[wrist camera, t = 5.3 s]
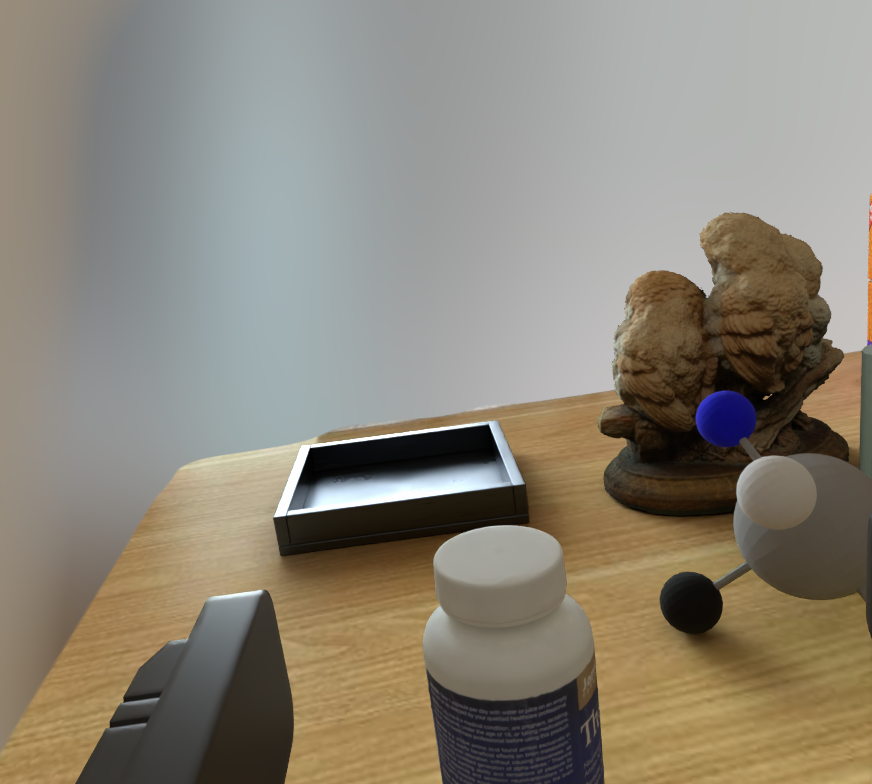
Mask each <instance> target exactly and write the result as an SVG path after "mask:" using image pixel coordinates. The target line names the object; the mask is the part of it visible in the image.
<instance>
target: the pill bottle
mask: <svg viewBox="0 0 872 784" xmlns="http://www.w3.org/2000/svg"><path fill="white" fill-rule="evenodd" d="M433 564H434V576H435V593H436V597H437V599H438V601H439V604H440V606H438V608H437V609H436V610H435V611H434V612H433V614H432V615H431V617H430V618H429V620H428V622H427V625H426V627H425V631H424V637H423V651H424V660H425V666H426V673H427V679H428V687H429V693H430V699H431V708H432V713H433V720H434V727H435V734H436V741H437V749H438V756H439V763H440V769H441V776H442V782H443V784H605V783H604V767H603V757H602V739H601V727H600V710H599V700H598V688H597V677H596V659H595V652H594V641H593V634H592V628H591V625H590V622H589V619H588V617H587V615H586V613H585V612H584V610H583V609H582V608H581V606H580V605H579V604H578V603H577V602H576V601H575V600H574V599H573V598H571V597H570V596H569V595H567V594H566V585H567V581H566V573H565V565H564V558H563V552H562V548H561V545H560V544H559V542H558V541H557V540H556V539H555V538H554V537H552V536H551V535H549V534H547V533H545V532H543V531H540V530H537V529H533V528H529V527H523V526H509V525H503V526H489V527H483V528H479V529H474V530H471V531H468V532H465V533H462V534H459V535H457V536H454V537H453V538H451V539H449V540H448V541H446V542H445V543H444V544H443V545H442V546H441V547H440V548H439V549H438V550H437V552H436V554H435V556H434V561H433Z"/></svg>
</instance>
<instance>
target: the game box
mask: <svg viewBox="0 0 872 784" xmlns="http://www.w3.org/2000/svg"><path fill="white" fill-rule="evenodd" d="M869 215H870V216H869V220H870V221H869V259H868V260H869V261H868V278H869V279H871V281H869V282H868V343H867V346H868V345H870V344H872V194H871V196H870V214H869Z"/></svg>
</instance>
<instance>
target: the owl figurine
mask: <svg viewBox="0 0 872 784" xmlns="http://www.w3.org/2000/svg"><path fill="white" fill-rule="evenodd" d="M700 241H701V243H700V246H701V247H702V248H703V249H704V252H705V255H706V257H707V258H708V262H709V263H710V264H711V267H712V274H713V278H712V279H713V280H712V281H713V283H714V285H715V286H714V287H713V289H712V290H713V291H711V294H710V296H709V297H708V298H706V295H705V293H704V292H703V290H701V289H699V287H697V286H696V285H695V284H694V283H693V282H691V281H690V280H688V279H687V278H686V277H684V276H682V275H680V274H676V273H674V272H669V271H651V272H647V273H646V274H644V275H642V276H641V277H639V278H637V279H636V280H635V282H634V283H633V284H632V285H631V286H630V287H629V292H628V294H627V296H626V301H625V303H626V304H625V308H624V309H625V319H626V320H624V321H623V323H622V324H621V325H620V326H619V325H618V328H617V330H616V331H615V334H614V355H615V359H614V361H612V371H613V379H614V381H615V384H614V387H615V391H616V393H617V395H618V396H619V397H620V399H621V400H622V401H623V402H624V404H621V405H619V406H611V407H606V408H605V407H604V409H603V411H602V415H600V416H599V417H598V427H599V429H600V432H601V433H603V434H604V435H607V436H609V437H612V438H621V437H623V438H625V439H626V441H627V443H626V444H627V446H626V447H625V448H624V449H622V450H621V452H620V453H619V454H618V456H617V457H616V458H615V459H613V460H612V461H611V463H610V464H609V465H608V466H607V468H606V470H605V472H604V484H605V485H604V486H605V490H606V491H607V492H608V493H609V494H610V495H611V496H613V498H614V499H616V500H617V501H619V502H621V503H622V504H624V505H626V506H629V507H631V508H635V509H640V510H645V511H647V512H650V513H654V514H663V515H677V516H681V515H682V516H684V515H698V514H717V513H723V512H731V511H735V506H736V502H737V495H736V491H737V483H738V480H739V477H740V475H741V473H742V472H743V470H744V469H745V468H746V467H747V466H748V465H749V464H751V463H752V462H753V459H752V458H751V457H750V456H749V454H748V453H747V452H746V451H745V449H744V448H743V447H742V445H741V444H739V445H737V446H733V447H720V446H716V445H713V444H711V443H710V442H708V441H707V440H706V439H704V438H703V437H702V435H701V434H700V432H699V430H698V428H697V424H696V413H697V409H698V407H699V405H700V403H701V402H702V401H703V400H704V399H705V398H706V397H707V396H709V395H711V394H713V393H715V392H719V391H733V392H737V393H739V394H741V395H743V396H744V397H746V398H747V399H748V400H749V401H750V402H751V404H752V405H753V407H754V409H755V413H756V426H755V428H754V431H753V433H752V434H751V436H750V437H749V438H748V439H747V440H748V441H749V442H750V443H751V445H752V446H753V447H754V448H755V450H756V451H757V452H758V453H759V455H760V456H761V457H766V456H773V455H774V456H784V457H785V456H789V455H794V454H804V453H813V454H822V455H827V456H832V457H835V458H838V459H841V460H843V461H845V462H847V461H849V460H848V457H849V452H848V451H849V447H848V444H847V442H846V440H845V439H844V438H843V437H842V436H840V435H839V434H838V433H836V432H834V431H832V430H831V428H830V427H829V426H828V425H827V424H825V423H824V422H822V421H820V420H818V419H815V418H812V417H808V416H807V414H806V413H802V412H801V410H800V409H801V407H802V405H803V400H804V399H806V398H807V397H808V396H809V395H810V394H811V393H812V392H813V391H814V390H816V389H817V388H818V386H820V385H822V384H825V382H824V381H825V380H827V379H828V378H829V374H830V373H832V371H834V370H835V368H836V367H837V366H838V364H839V365H840V363H841V361H842V359H843V358H844V354H843V352H842V350H840V349H837V348H833V347H832V346H831V344H832V340H828V339H823V336H824V335H825V334H826V332H827V325H828V323H829V322H830V319H831V311H830V309H829V306H828V304H827V303H826V301H825V300H824V299H823V298H821V297H820V296H819V295H818V292H819V289H820V283H821V282H820V276H821V274H822V269H823V268H822V265H821V262H820V261H819V260H818V259H817V258H816V257H815V255H814V253H813V251H812V249H811V247H810V246H809V245H808V244H806V243H805V242H804V241H802V240H799V239H796V238H794V237H792V236H791V235H787V234H781V233H780V232H779V230H778V229H777V228H775V227H773V226H771V225H769V224H767V223H765V222H764V221H762V220H761V219H760V218H759V217H755V216H753V215H749V214H746V213H731V214H729V213H724V214H722V215H719V216H718V217H716V218H714V219H713V220H711V221H710V222H709V223H708V225H707V226H706V228H703V230H702V232H701V233H700ZM770 394H772V395H771V396H770ZM765 396H770V397H769V398H768V399H766V400H763V398H764V397H765Z"/></svg>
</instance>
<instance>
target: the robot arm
mask: <svg viewBox="0 0 872 784" xmlns="http://www.w3.org/2000/svg"><path fill="white" fill-rule="evenodd" d="M866 617H867V624H868V628H869V632H870V635H871V638H872V513H871V515H870V517H869V521H868V530H867V587H866ZM123 698H124V702H123V703H120V704H119V706H118V708H117V710H116V711H115V713H114V715H113V717H112V719H111V720H110V728H107V729H105V731H104V733H103V735H102V737H101V738H100V740H99V742H98V744H97V746H96V747H95V749H94V751H93V753H92V755H91V756H90V758H89V760H88V762H87V764H86V765H85V767H84V769H83V771H82V773H81V774H80V776H79V778H78V780H77V782H76V783H75V784H284V783H285V778H286V773H287V768H288V763H289V758H290V753H291V748H292V742H293V730H294V716H293V702H292V694H291V689H290V684H289V679H288V674H287V669H286V664H285V659H284V654H283V649H282V645H281V640H280V635H279V630H278V625H277V620H276V615H275V610H274V606H273V602H272V599H271V596H270V594H269V592H268V591H267V590H259V591H252V592H244V593H237V594H230V595H223V596H215V597H210V598H208V599H207V601H206V602H205V604H204V606H203V608H202V611H201V613H200V615H199V617H198V619H197V621H196V623H195V625H194V627H193V629H192V631H191V633H190V635H189V637H188V639H183V640H176V641H169V642H168V643H167V644H166V645H165V646H164V647H163V648H161V649H160V650H159V651H158V652H157V653H156V654H155V655H154V656H153V657H151V658H150V659H149V660H148V661H147V662H146V663H145V664H144V665H142V666H141V667H140V668H139V670H138V672H137V674H136V675H135V677H134V679H133V681H132V683H131V684H130V686H129V688H128V690H127V692H126V693H125V695H124V697H123Z"/></svg>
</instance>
